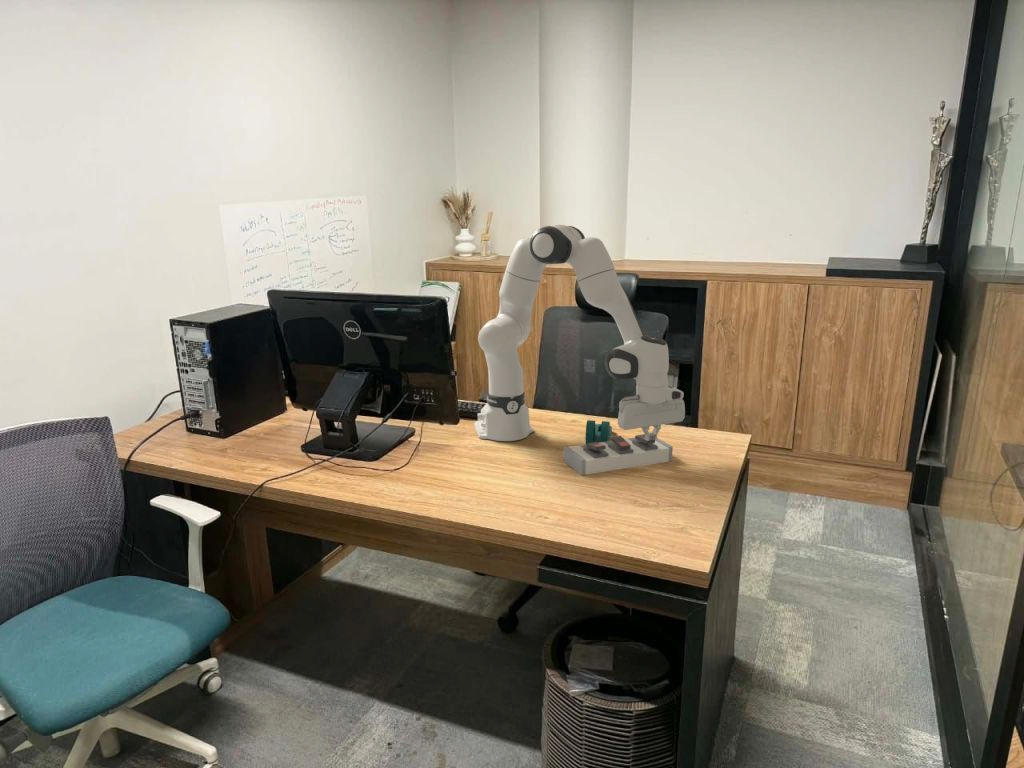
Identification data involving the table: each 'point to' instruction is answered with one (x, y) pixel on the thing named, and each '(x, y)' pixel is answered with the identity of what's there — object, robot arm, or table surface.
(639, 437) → the rocker
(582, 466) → the power strip
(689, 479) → the table surface
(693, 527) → the table surface
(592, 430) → the bracket
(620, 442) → the rocker
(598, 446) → the rocker
